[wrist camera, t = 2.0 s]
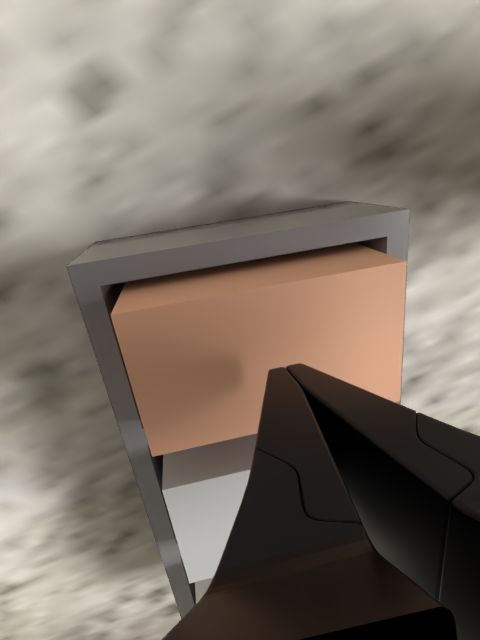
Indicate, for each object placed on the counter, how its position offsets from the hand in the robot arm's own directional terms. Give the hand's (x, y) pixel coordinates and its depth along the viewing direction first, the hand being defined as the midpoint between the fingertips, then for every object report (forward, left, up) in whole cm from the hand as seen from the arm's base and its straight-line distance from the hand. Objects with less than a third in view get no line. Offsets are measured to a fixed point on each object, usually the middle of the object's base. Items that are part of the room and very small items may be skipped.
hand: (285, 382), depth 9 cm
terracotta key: (0, 0, -4) cm, 4 cm away
